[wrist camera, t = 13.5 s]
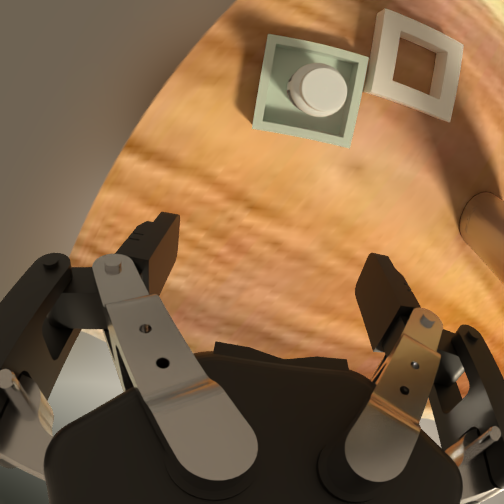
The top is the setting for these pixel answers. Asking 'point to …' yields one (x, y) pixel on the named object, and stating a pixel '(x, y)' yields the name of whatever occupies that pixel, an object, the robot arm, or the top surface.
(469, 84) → the top surface
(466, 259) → the top surface
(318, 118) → the parts tray
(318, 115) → the pill bottle
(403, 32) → the socket block
